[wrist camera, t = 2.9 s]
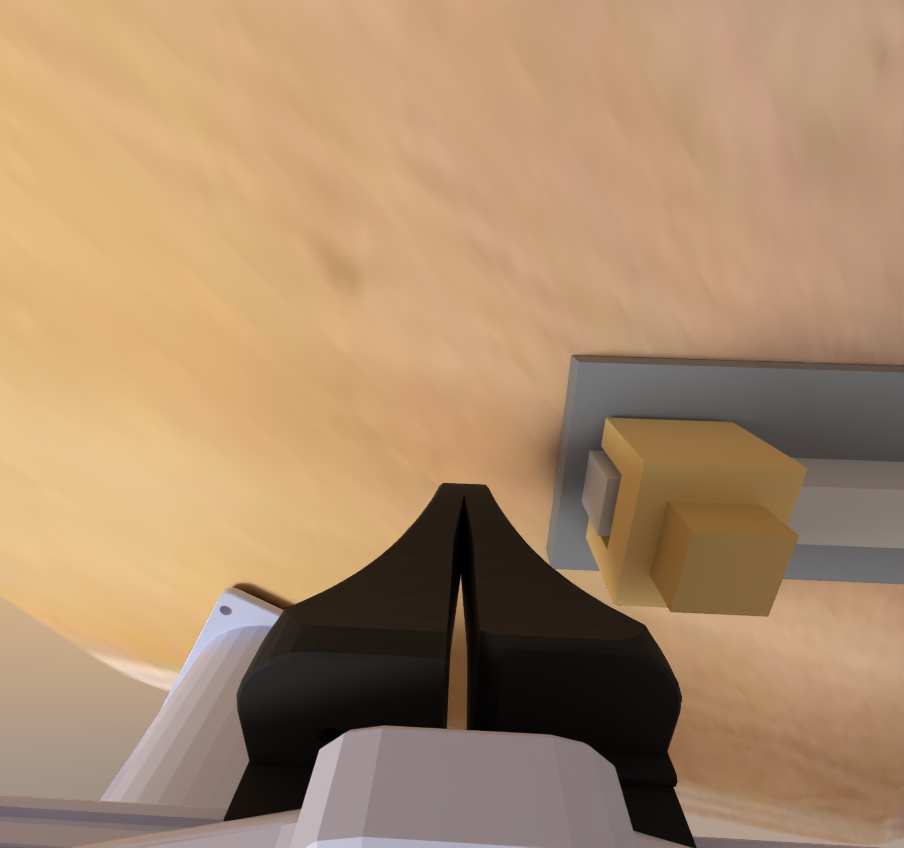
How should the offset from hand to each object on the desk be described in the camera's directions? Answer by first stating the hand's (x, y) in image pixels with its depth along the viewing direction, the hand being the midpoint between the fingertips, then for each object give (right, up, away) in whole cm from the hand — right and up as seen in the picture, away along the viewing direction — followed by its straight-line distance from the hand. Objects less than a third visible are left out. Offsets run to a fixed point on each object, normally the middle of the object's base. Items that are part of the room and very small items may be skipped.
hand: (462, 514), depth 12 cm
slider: (+7, +1, +2) cm, 7 cm away
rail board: (+11, +1, +3) cm, 11 cm away
